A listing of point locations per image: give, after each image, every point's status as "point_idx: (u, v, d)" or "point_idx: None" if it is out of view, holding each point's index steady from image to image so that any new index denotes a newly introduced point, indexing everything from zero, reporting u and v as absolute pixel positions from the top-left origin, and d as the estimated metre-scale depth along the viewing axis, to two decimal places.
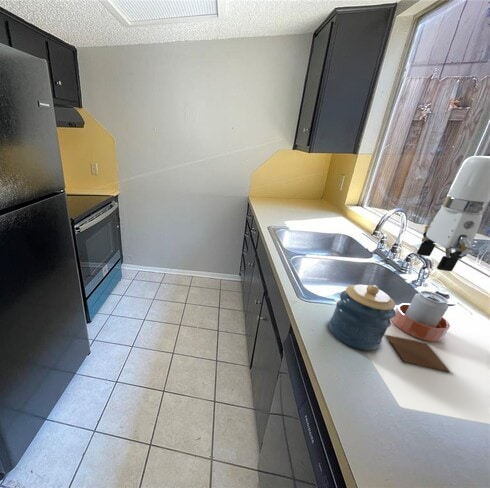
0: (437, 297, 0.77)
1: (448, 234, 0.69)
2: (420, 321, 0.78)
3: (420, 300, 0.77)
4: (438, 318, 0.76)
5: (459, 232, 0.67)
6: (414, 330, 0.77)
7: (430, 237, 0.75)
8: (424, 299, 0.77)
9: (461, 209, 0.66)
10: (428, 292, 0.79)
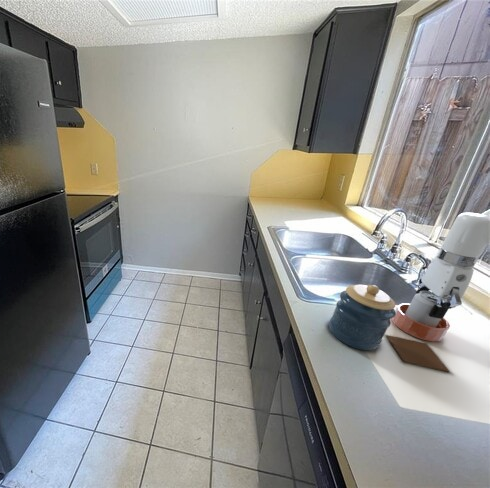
0: None
1: (441, 285, 0.72)
2: (420, 321, 0.78)
3: (420, 300, 0.77)
4: (438, 318, 0.76)
5: (452, 284, 0.70)
6: (414, 330, 0.77)
7: (425, 283, 0.78)
8: (424, 299, 0.77)
9: (454, 263, 0.69)
10: (428, 292, 0.79)
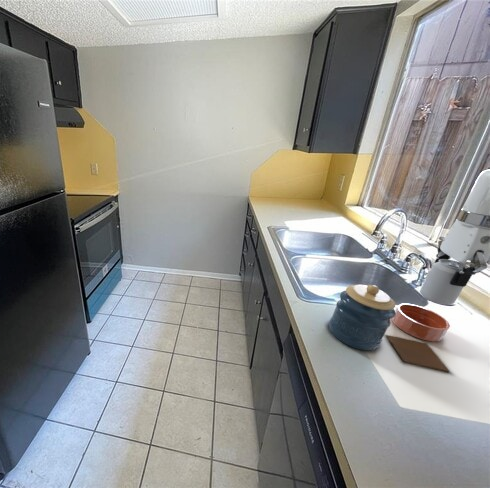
0: (458, 265, 0.72)
1: (464, 249, 0.67)
2: (440, 291, 0.73)
3: (440, 268, 0.72)
4: (460, 286, 0.71)
5: (476, 247, 0.65)
6: (414, 330, 0.77)
7: (444, 251, 0.73)
8: (444, 267, 0.72)
9: (477, 224, 0.64)
10: (448, 260, 0.74)
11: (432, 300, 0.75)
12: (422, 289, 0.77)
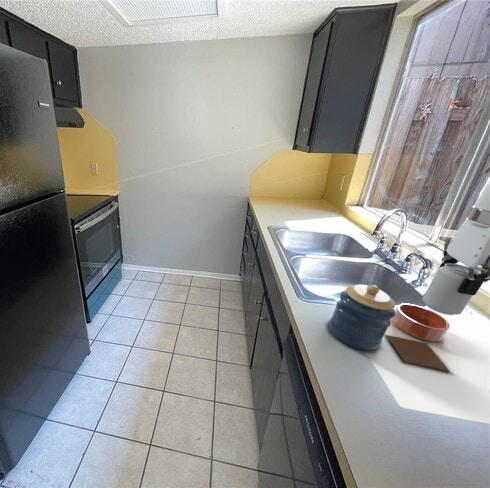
0: (467, 270, 0.64)
1: (475, 252, 0.58)
2: (446, 299, 0.64)
3: (446, 274, 0.63)
4: (469, 295, 0.62)
5: (489, 250, 0.56)
6: (414, 330, 0.77)
7: (452, 254, 0.64)
8: (451, 272, 0.63)
9: None
10: (455, 265, 0.66)
11: (436, 309, 0.66)
12: (425, 297, 0.69)
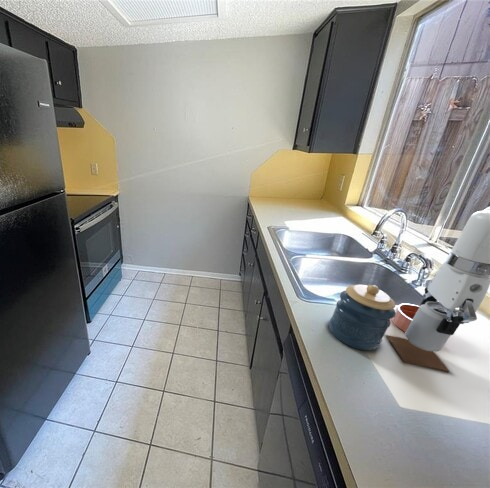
0: (446, 309, 0.67)
1: (452, 296, 0.61)
2: (426, 337, 0.67)
3: (426, 313, 0.66)
4: (447, 334, 0.65)
5: (465, 295, 0.59)
6: None
7: (432, 293, 0.67)
8: (431, 312, 0.66)
9: (467, 270, 0.59)
10: (435, 303, 0.68)
11: (417, 345, 0.69)
12: (407, 332, 0.71)
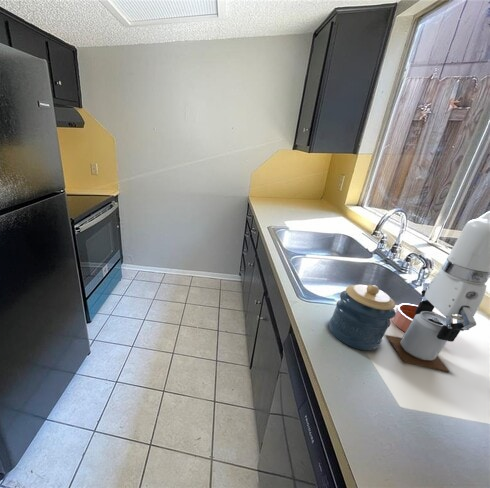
0: (440, 319, 0.68)
1: (449, 302, 0.62)
2: (420, 346, 0.68)
3: (421, 323, 0.68)
4: (441, 344, 0.66)
5: (461, 302, 0.60)
6: None
7: (429, 299, 0.68)
8: (425, 322, 0.67)
9: (463, 277, 0.59)
10: (430, 313, 0.70)
11: (412, 354, 0.70)
12: (403, 341, 0.73)
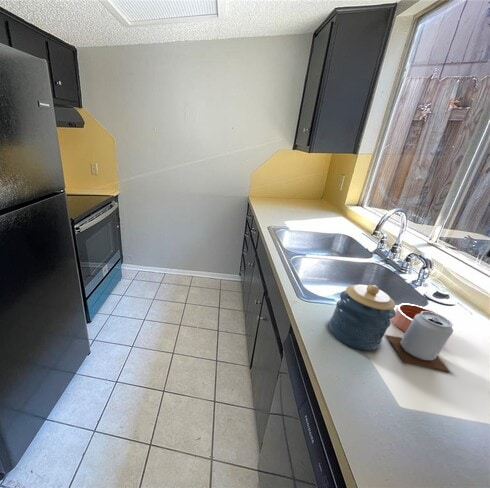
0: (440, 319, 0.68)
1: None
2: (420, 346, 0.68)
3: (421, 323, 0.68)
4: (441, 344, 0.66)
5: None
6: None
7: None
8: (425, 322, 0.67)
9: None
10: (430, 313, 0.70)
11: (412, 354, 0.70)
12: (403, 341, 0.73)
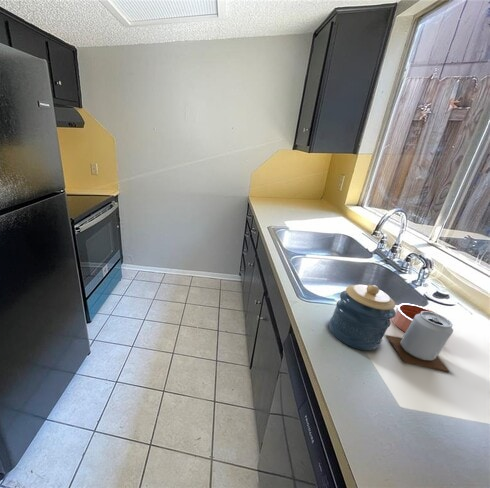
0: (440, 319, 0.68)
1: None
2: (420, 346, 0.68)
3: (421, 323, 0.68)
4: (441, 344, 0.66)
5: None
6: None
7: None
8: (425, 322, 0.67)
9: None
10: (430, 313, 0.70)
11: (412, 354, 0.70)
12: (403, 341, 0.73)
